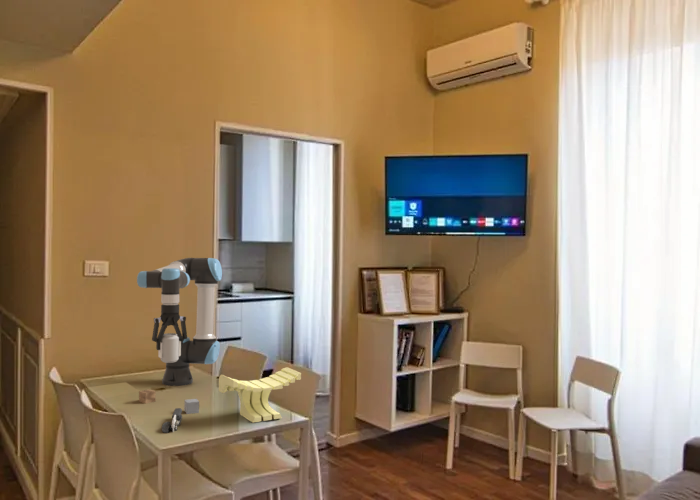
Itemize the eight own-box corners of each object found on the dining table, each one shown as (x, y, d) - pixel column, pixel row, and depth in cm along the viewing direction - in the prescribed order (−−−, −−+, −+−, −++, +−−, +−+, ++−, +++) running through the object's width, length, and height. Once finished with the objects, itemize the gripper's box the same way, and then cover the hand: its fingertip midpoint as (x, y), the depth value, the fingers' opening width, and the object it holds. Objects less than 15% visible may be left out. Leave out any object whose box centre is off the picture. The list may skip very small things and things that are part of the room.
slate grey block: (196, 410, 257) (196, 398, 257) (198, 413, 253) (199, 401, 253) (184, 411, 255) (184, 399, 255) (186, 414, 250) (187, 402, 250)
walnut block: (148, 400, 272) (148, 389, 272) (155, 402, 269) (155, 391, 269) (139, 402, 268) (139, 391, 268) (145, 404, 265) (145, 393, 265)
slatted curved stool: (283, 406, 266) (284, 365, 266) (300, 415, 252) (301, 372, 252) (218, 415, 250) (218, 372, 249) (232, 425, 236) (233, 380, 236)
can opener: (177, 433, 226) (177, 420, 226) (160, 433, 226) (160, 420, 225) (185, 418, 245) (185, 406, 245) (169, 418, 245) (169, 406, 245)
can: (182, 360, 263) (182, 333, 263) (171, 363, 256) (172, 335, 256) (167, 359, 266) (167, 332, 266) (156, 362, 259) (157, 334, 258)
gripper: (189, 302, 270) (188, 352, 270) (143, 304, 257) (143, 357, 258) (196, 303, 264) (195, 355, 264) (149, 305, 251) (149, 360, 252)
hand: (169, 356), depth 261 cm, fingers closed on can, 7 cm apart
